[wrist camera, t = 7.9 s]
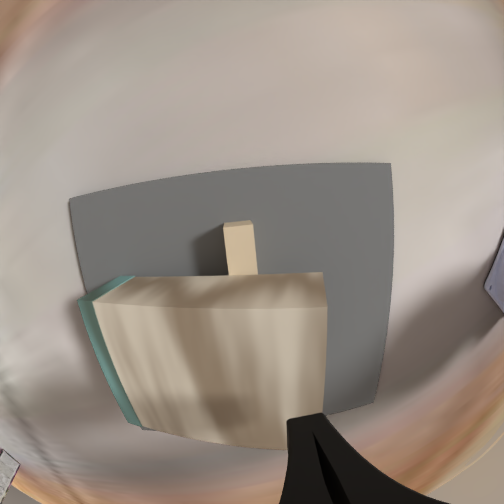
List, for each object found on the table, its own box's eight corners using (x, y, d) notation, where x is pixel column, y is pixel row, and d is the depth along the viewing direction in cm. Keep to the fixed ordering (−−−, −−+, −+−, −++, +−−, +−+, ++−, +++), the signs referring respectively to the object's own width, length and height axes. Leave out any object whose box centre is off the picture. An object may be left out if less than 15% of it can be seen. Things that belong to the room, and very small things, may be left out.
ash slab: (327, 306, 9) (77, 300, 12) (317, 451, 11) (128, 422, 14) (322, 270, 13) (120, 275, 16) (319, 402, 15) (154, 387, 18)
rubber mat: (386, 163, 16) (407, 161, 13) (371, 399, 20) (382, 416, 18) (73, 198, 15) (52, 200, 12) (143, 426, 19) (137, 445, 17)
